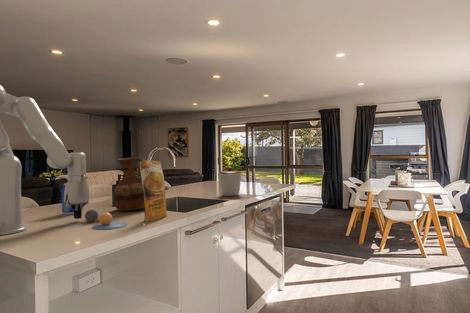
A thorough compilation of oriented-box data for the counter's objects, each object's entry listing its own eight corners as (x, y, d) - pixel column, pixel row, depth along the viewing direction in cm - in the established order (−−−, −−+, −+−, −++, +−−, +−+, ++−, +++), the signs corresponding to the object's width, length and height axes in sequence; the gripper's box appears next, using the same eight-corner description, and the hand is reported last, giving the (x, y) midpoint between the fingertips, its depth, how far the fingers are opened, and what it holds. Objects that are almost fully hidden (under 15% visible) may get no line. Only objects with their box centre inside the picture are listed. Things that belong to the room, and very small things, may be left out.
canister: (246, 194, 225) (246, 166, 225) (233, 197, 210) (233, 167, 210) (226, 193, 235) (226, 166, 235) (213, 196, 219) (212, 167, 219)
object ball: (96, 214, 131) (98, 226, 130) (100, 213, 127) (102, 226, 126) (108, 211, 134) (110, 223, 134) (113, 210, 131) (115, 223, 130)
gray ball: (85, 207, 139) (80, 218, 137) (92, 208, 136) (87, 220, 134) (95, 211, 143) (90, 222, 141) (102, 212, 140) (97, 223, 138)
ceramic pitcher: (107, 210, 168) (107, 157, 168) (140, 205, 183) (139, 156, 183) (124, 214, 155) (123, 156, 155) (158, 208, 170) (157, 156, 170)
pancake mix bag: (135, 222, 136) (134, 160, 136) (160, 214, 153) (159, 159, 153) (147, 223, 133) (145, 160, 133) (171, 215, 151) (170, 159, 151)
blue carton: (83, 212, 163) (82, 182, 163) (73, 215, 155) (73, 184, 155) (69, 212, 164) (68, 183, 164) (58, 215, 156) (57, 184, 156)
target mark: (116, 230, 121) (116, 229, 121) (84, 229, 123) (84, 229, 123) (133, 222, 135) (133, 222, 135) (104, 222, 137) (104, 221, 137)
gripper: (86, 177, 148) (87, 214, 148) (56, 180, 134) (56, 220, 135) (96, 177, 144) (97, 215, 144) (66, 180, 131) (67, 222, 131)
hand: (77, 218), depth 139 cm, fingers closed
